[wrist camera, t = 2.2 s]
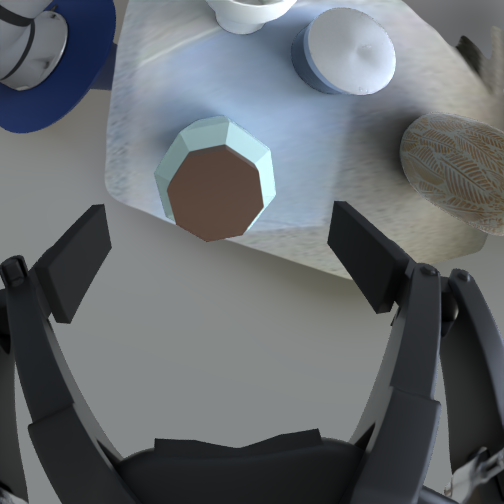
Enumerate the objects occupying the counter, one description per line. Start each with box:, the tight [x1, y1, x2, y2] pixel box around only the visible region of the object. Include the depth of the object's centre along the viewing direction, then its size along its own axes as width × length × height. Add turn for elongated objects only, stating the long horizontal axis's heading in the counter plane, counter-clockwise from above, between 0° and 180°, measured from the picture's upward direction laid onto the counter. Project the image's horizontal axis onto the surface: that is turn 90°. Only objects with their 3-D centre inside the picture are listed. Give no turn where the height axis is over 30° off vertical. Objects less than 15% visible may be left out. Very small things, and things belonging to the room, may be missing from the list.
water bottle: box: [154, 115, 276, 242], centre depth 29 cm, size 10×10×25 cm
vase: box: [400, 112, 504, 236], centre depth 32 cm, size 17×17×27 cm
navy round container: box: [291, 8, 396, 95], centre depth 30 cm, size 13×13×9 cm
